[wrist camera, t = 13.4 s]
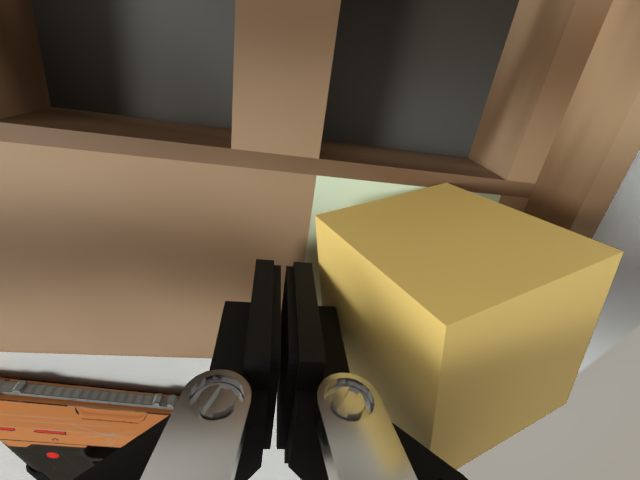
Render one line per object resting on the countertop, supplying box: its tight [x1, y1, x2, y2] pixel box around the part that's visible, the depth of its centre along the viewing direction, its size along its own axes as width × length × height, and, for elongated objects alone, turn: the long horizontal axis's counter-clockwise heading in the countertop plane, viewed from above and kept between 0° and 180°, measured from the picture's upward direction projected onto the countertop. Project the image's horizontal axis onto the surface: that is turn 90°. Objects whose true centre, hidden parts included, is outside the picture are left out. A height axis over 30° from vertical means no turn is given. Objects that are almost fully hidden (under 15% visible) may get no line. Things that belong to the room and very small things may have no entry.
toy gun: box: [0, 378, 180, 480], centre depth 19 cm, size 15×2×10 cm
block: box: [315, 183, 624, 469], centre depth 10 cm, size 4×4×5 cm
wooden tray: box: [0, 0, 640, 358], centre depth 11 cm, size 15×23×5 cm, turn 82°
